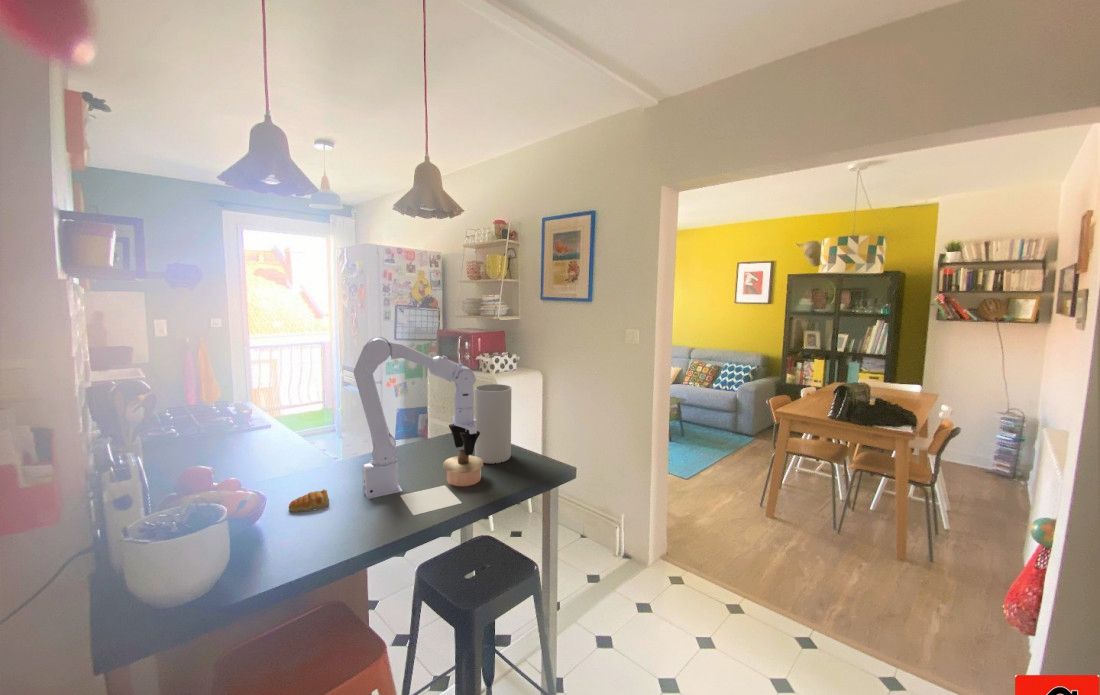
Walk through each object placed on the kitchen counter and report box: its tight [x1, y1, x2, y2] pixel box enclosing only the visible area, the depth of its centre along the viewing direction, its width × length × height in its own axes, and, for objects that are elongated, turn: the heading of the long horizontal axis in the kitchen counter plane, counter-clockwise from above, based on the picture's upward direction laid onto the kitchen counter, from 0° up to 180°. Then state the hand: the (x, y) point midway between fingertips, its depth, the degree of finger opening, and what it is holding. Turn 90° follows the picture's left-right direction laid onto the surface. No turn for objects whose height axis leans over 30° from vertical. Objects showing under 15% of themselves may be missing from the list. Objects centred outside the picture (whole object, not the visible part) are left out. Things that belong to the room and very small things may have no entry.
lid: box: [442, 449, 484, 473], centre depth 132 cm, size 12×12×4 cm
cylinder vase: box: [474, 383, 512, 465], centre depth 151 cm, size 12×12×25 cm
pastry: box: [288, 489, 330, 513], centre depth 115 cm, size 9×7×4 cm
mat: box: [399, 484, 463, 516], centre depth 119 cm, size 13×13×1 cm
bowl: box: [446, 468, 482, 487], centre depth 133 cm, size 10×10×5 cm
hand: (463, 450), depth 132 cm, fingers open, 7 cm apart
